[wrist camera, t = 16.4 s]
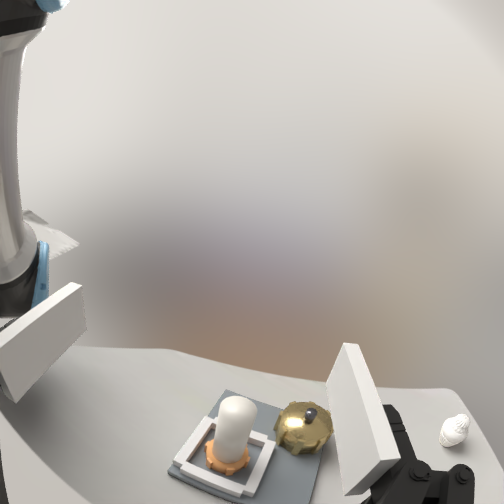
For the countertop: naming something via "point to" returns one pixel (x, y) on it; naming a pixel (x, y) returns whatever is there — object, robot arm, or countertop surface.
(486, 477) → the countertop surface
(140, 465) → the countertop surface
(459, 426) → the muffin
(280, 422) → the sun gear
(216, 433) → the white cylinder orange base
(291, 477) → the carrier plate
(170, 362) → the countertop surface
